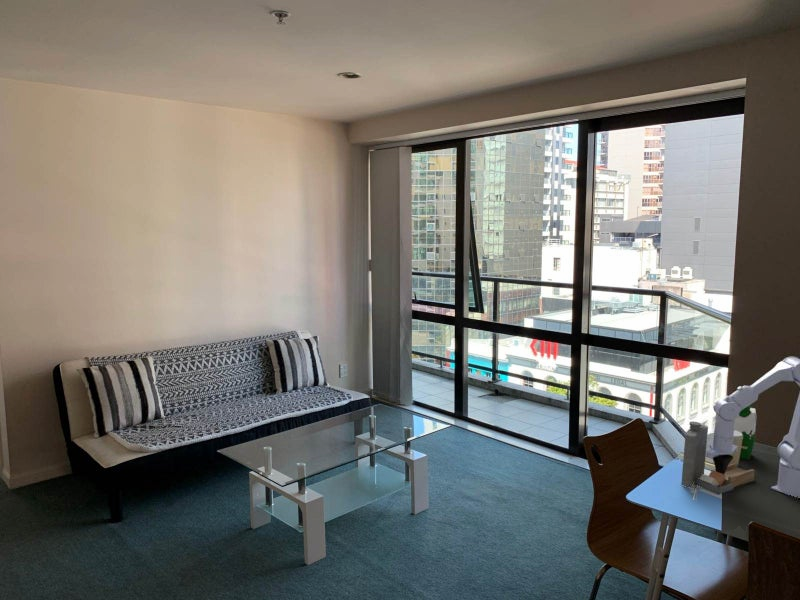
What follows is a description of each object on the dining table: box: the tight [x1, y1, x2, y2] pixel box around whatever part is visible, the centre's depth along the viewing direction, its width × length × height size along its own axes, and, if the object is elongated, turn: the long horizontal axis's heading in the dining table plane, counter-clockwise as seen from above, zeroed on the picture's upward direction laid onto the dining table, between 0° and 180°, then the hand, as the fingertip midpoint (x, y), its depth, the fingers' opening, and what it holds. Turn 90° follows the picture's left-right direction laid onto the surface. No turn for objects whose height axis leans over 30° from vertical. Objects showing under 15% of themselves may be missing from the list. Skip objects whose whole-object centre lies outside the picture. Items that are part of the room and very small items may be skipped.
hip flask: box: [680, 421, 709, 488], centre depth 201 cm, size 16×4×20 cm, turn 137°
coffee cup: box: [729, 430, 743, 467], centre depth 216 cm, size 9×9×12 cm
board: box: [710, 463, 756, 488], centre depth 202 cm, size 7×14×4 cm, turn 120°
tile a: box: [708, 469, 726, 487], centre depth 197 cm, size 4×4×2 cm
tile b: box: [700, 473, 719, 487], centre depth 195 cm, size 4×4×2 cm
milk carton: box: [734, 404, 757, 460], centre depth 226 cm, size 9×9×20 cm
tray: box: [695, 478, 734, 495], centre depth 196 cm, size 8×8×2 cm
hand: (719, 475), depth 198 cm, fingers closed, pressing on tile a
